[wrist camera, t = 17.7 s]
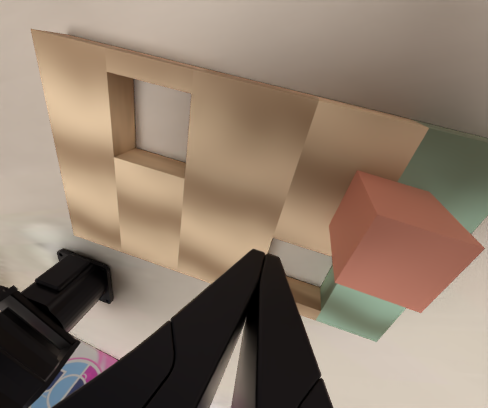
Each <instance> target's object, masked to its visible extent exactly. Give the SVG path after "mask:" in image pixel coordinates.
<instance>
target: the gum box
mask: <svg viewBox="0 0 488 408" xmlns="http://www.w3.org/2000/svg"><path fill="white" fill-rule="evenodd" d="M74 338H75V337H74ZM75 339H77V338H75ZM78 340H79V339H78ZM79 341H80V342H81V343H80V344H79V346H78V347H77V349H76V350H75V351H74V353H73V354H72V356H71V357H70V358H69V360H68V361H67V362H66V364H65V365H64V367H63V368H62V369H61V371H60V372H59V374H58V375H57V376H56V378H55V379H54V381H53V382H52V383H51V384H50V386H49V387H48V388H47V389H46V391H45V392H44V393H43V394H42V395H41V396H40V397H39V398H38V399H37V400H36V401H35V402H34V403H33V404H32V405H31V406H30V407H29V408H51V407H52V406H54V405H55V404H57V403H58V402H60V401H61V400H63V399H64V398H65V397H67V396H68V395H70V394H71V393H73V392H74V391H76V390H77V389H78V388H80V387H81V386H83V385H84V384H86V383H87V382H89V381H90V380H91V379H93V378H94V377H96V376H97V375H99V374H100V373H101V372H103V371H104V370H106V369H107V368H109V367H110V366H111V365H113V364H114V363H115V362H117V361H118V360H117V359H115V358H113V357H111V356H109V355H107V354H105V353H103V352H102V351H100V350H98V349H96V348H94V347H92V346H91V345H89V344H87V343H85V342H83V341H81V340H79Z"/></svg>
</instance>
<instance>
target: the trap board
mask: <svg viewBox="0 0 488 408" xmlns="http://www.w3.org/2000/svg"><path fill="white" fill-rule="evenodd" d="M31 33H32V38H33V43H34V47H35V52H36V57H37V62H38V66H39V71H40V76H41V81H42V85H43V90H44V95H45V100H46V104H47V109H48V114H49V119H50V123H51V128H52V133H53V138H54V142H55V147H56V152H57V157H58V162H59V166H60V171H61V176H62V181H63V185H64V190H65V195H66V200H67V204H68V209H69V214H70V219H71V223H72V228H73V233H74V235H75V236H78V237H80V238H83V239H86V240H89V241H92V242H95V243H97V244H100V245H103V246H106V247H109V248H112V249H114V250H117V251H120V252H123V253H126V254H129V255H131V256H134V257H137V258H140V259H143V260H146V261H148V262H151V263H154V264H157V265H160V266H163V267H166V268H168V269H171V270H174V271H177V272H180V273H183V274H185V275H188V276H191V277H194V278H197V279H200V280H202V281H205V282H208V283H211V284H212V283H213V282H214V281H215V280H216V279H218V278H219V277H220V276H221V275H222V274H223V273H225V272H226V271H227V270H228V269H229V268H230V267H232V266H233V265H234V264H235V263H236V262H237V261H239V260H240V259H241V258H242V257H243V256H244V255H246V254H247V253H248V252H249V251H250V250H252V249H256V250H259V251H262V252H264V253H265V255H266V254H267V253H268V250H269V247H270V244H271V241H272V238H275V239H278V240H282V241H285V242H288V243H291V244H294V245H297V246H300V247H303V248H307V249H310V250H313V251H316V252H319V253H322V254H325V255H328V256H332V252H331V242H330V233H329V224H330V222H331V220H332V218H333V216H334V214H335V213H336V211H337V209H338V207H339V205H340V203H341V201H342V199H343V197H344V195H345V193H346V191H347V189H348V187H349V185H350V183H351V181H352V179H353V177H354V175H355V173H356V171H357V170H358V171H362V172H365V173H368V174H372V175H375V176H378V177H382V178H385V179H388V180H392V181H395V182H398V183H402V184H405V185H408V186H412V187H415V188H418V189H422V190H425V191H428V192H430V193H431V194H432V195H433V196H434V197H435V198H436V199H437V200H438V201H439V202H440V203H441V204H442V205H443V206H444V207H445V208H446V209H447V210H448V211H449V212H450V213H451V214H452V215H453V216H454V217H455V218H456V219H457V220H458V221H459V223H460V224H461V225H462V226H463V227H464V228H465V229H466V230H467V231H468V232H469V233H470V234H472V232H473V231H474V230H475V229H476V228H477V227H478V226H479V224H480V223H481V222H482V221H483V220H484V219H485V218H486V217H487V215H488V138H484V137H480V136H476V135H472V134H468V133H464V132H460V131H456V130H452V129H448V128H444V127H440V126H436V125H431V124H427V123H423V122H419V121H415V120H411V119H407V118H403V117H399V116H395V115H391V114H387V113H383V112H379V111H375V110H371V109H367V108H363V107H359V106H354V105H350V104H346V103H342V102H338V101H334V100H330V99H326V98H322V97H318V96H314V95H310V94H306V93H302V92H298V91H294V90H290V89H286V88H282V87H278V86H273V85H269V84H265V83H261V82H257V81H253V80H249V79H245V78H241V77H237V76H233V75H229V74H225V73H221V72H217V71H213V70H209V69H205V68H201V67H196V66H192V65H188V64H184V63H180V62H176V61H172V60H168V59H164V58H160V57H156V56H152V55H148V54H144V53H140V52H136V51H132V50H128V49H124V48H120V47H115V46H111V45H107V44H103V43H99V42H95V41H91V40H87V39H83V38H79V37H75V36H71V35H67V34H60V33H54V32H47V31H41V30H34V29H31ZM133 79H137V80H141V81H144V82H148V83H152V84H156V85H160V86H164V87H167V88H171V89H175V90H179V91H183V92H187V93H190V94H191V106H190V118H189V131H188V143H187V155H186V163H185V162H181V161H178V160H174V159H171V158H168V157H164V156H161V155H158V154H154V153H151V152H147V151H144V150H141V149H137V148H136V144H135V113H134V83H133ZM286 277H287V276H286ZM287 280H288V283H289V286H290V288H291V291H292V294H293V297H294V300H295V302H296V305H297V308H298V311H299V314H300V315H302V316H305V317H307V318H310V319H313V320H316V321H319V322H322V323H324V324H327V325H330V326H333V327H336V328H339V329H341V330H344V331H347V332H350V333H353V334H356V335H358V336H361V337H364V338H367V339H370V340H373V341H375V342H377V341H378V340H379V339H380V337H381V336H382V335H383V334H384V333H385V332H386V331H387V329H388V328H389V327H390V326H391V325H392V324H393V323H394V321H395V320H396V319H397V318H398V317H399V316H400V315H401V313H402V312H403V311H404V310H405V309H406V308H405V307H402V306H399V305H397V304H394V303H391V302H388V301H385V300H382V299H380V298H377V297H374V296H371V295H368V294H365V293H362V292H360V291H357V290H354V289H351V288H348V287H345V286H342V285H340V284H337V283H335V281H334V271H333V265H332V267H331V269H330V271H329V272H328V274H327V276H326V278H325V280H324V282H323V283H322V285H321V287H317V286H314V285H311V284H308V283H305V282H302V281H299V280H296V279H293V278H290V277H287Z"/></svg>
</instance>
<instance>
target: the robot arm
mask: <svg viewBox="0 0 488 408" xmlns="http://www.w3.org/2000/svg"><path fill="white" fill-rule="evenodd" d="M57 255H58V259H59V262H58V263H57V264H55V265H54V266H53V267H51V268H50V269H49V270H47V271H46V272H45V273H43V274H42V275H40V276H39V277H38V278H36V279H35V282H34V283H33V284H31V285H30V286H29V287H27V288H26V289H25V290H23V291H22V292H21V293H20V292H19V291H18V290H17V288H16V287H15V286H14V285H13V286H12V287H10V288H8V287H4V286H0V310H1V312H0V408H29V407H30V406H31V405H32V404H33V403H34V402H35V401H36V400H37V399H38V398H39V397H40V396H41V395H42V394H43V393H44V392H45V391H46V389H47V388H48V387H49V386H50V384H51V383H52V382H53V381H54V379H55V378H56V376H57V375H58V374H59V372H60V371H61V369H62V368H63V367H64V365H65V364H66V362H67V361H68V360H69V358H70V357H71V356H72V354H73V353H74V351H75V350H76V349H77V347H78V346H79V344H80V343H81V342H80V341H79V340H78V339H75V338H74V337H73V336H71V335H70V334H69V333H68V332H69V331H70V330H71V329H72V328H73V327H74V326H75V325H76V324H77V323H78V322H79V321H80V320H81V319H82V317H83V316H84V315H85V314H86V313H87V312H88V311H89V310H90V309H91V308H92V307H93V306H94V305H95V304H96V303H97V302H98V300H100V301H103V302H105V303H108V304H110V303H111V302H112V301H113V294H112V286H111V278H110V270H109V267H108V266H107V265H105V264H102V263H99V262H96V261H94V260H91V259H88V258H85V257H82V256H80V255H77V254H74V253H71V252H69V251H66V250H63V249H61V250H59V251H58V252H57ZM246 317H247V318H246ZM245 320H246V322H245ZM244 323H245V326H244ZM243 326H244V331H243V336H242V343H241V349H240V355H239V361H238V368H237V374H236V380H235V386H234V393H233V399H232V405H231V408H333V405H332V403H331V400H330V397H329V395H328V392H327V389H326V386H325V383H324V380H323V379H322V378H320V377H321V372H320V370H319V367H318V364H317V361H316V358H315V356H314V353H313V350H312V347H311V344H310V342H309V339H308V336H307V333H306V330H305V328H304V325H303V322H302V319H301V316H300V314H299V311H298V308H297V305H296V302H295V300H294V297H293V294H292V291H291V288H290V286H289V283H288V280H287V277H286V274H285V272H284V269H283V266H282V263H281V260H280V258H279V257H278V256H275V255H272V254H268V253H267V254H266V255H265V253H264V252H262V251H259V250H256V249H252V250H250V251H249V252H248V253H247V254H246V255H244V256H243V257H242V258H241V259H240V260H239V261H237V262H236V263H235V264H234V265H233V266H232V267H230V268H229V269H228V270H227V271H226V272H225V273H223V274H222V275H221V276H220V277H219V278H218V279H216V280H215V281H214V282H213V283H212V284H211V285H209V286H208V287H207V288H206V289H205V290H204V291H202V292H201V293H200V294H199V295H198V296H197V297H195V298H194V299H193V300H192V301H191V302H190V303H188V304H187V305H186V306H185V307H184V308H183V309H181V310H180V311H179V312H178V313H177V314H176V315H174V316H173V317H172V318H171V321H167V322H166V323H165V324H164V325H163V326H161V327H160V328H159V329H158V330H157V331H156V332H154V333H153V334H152V335H151V336H149V337H148V338H147V339H146V340H144V341H143V342H142V343H141V344H139V345H138V346H137V347H136V348H135V349H133V350H132V351H131V352H129V353H128V354H126V355H125V356H124V357H122V358H121V359H120V360H118V361H117V362H115V363H114V364H113V365H111V366H110V367H109V368H107V369H106V370H104V371H103V372H101V373H100V374H99V375H97V376H96V377H94V378H93V379H91V380H90V381H89V382H87V383H86V384H84V385H83V386H81V387H80V388H78V389H77V390H76V391H74V392H73V393H71V394H70V395H68V396H67V397H65V398H64V399H63V400H61V401H60V402H58V403H57V404H55V405H54V406H52V407H51V408H209V407H210V405H211V403H212V400H213V398H214V395H215V393H216V391H217V388H218V386H219V384H220V381H221V379H222V376H223V374H224V372H225V369H226V367H227V365H228V362H229V360H230V358H231V355H232V353H233V350H234V348H235V346H236V343H237V341H238V339H239V336H240V334H241V331H242V329H243Z"/></svg>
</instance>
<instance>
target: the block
mask: <svg viewBox="0 0 488 408" xmlns="http://www.w3.org/2000/svg"><path fill="white" fill-rule="evenodd" d="M329 233H330V242H331V252H332V262H333V271H334V281H335V283H337V284H340V285H342V286H345V287H348V288H351V289H354V290H357V291H360V292H362V293H365V294H368V295H371V296H374V297H377V298H380V299H382V300H385V301H388V302H391V303H394V304H397V305H399V306H402V307H405V308H408V309H411V310H414V311H417V312H419V313H421V312H422V311H423V310H424V309H425V308H426V307H427V306H428V305H429V304H430V303H431V302H432V301H433V300H434V299H435V298H436V297H437V296H438V295H439V294H440V293H441V292H442V291H443V290H444V289H445V288H446V287H447V286H448V285H449V284H450V283H451V282H452V281H453V280H454V279H455V278H456V277H457V276H458V275H459V274H460V273H461V272H462V271H463V270H464V269H465V268H466V267H467V266H468V265H469V264H470V263H471V262H472V261H473V260H474V259H475V258H476V257H477V256H478V255H479V254H480V253H481V252H482V251H483V250H484V249H485V248H484V247H483V246H482V245H481V244H480V243H479V242H478V241H477V240H476V239H475V238H474V237H473V236H472V235H471V234H470V233H469V232H468V231H467V230H466V229H465V228H464V227H463V226H462V225H461V224H460V223H459V221H458V220H457V219H456V218H455V217H454V216H453V215H452V214H451V213H450V212H449V211H448V210H447V209H446V208H445V207H444V206H443V205H442V204H441V203H440V202H439V201H438V200H437V199H436V198H435V197H434V196H433V195H432V194H431V193H430V192H428V191H425V190H422V189H418V188H415V187H412V186H408V185H405V184H402V183H398V182H395V181H392V180H388V179H385V178H382V177H378V176H375V175H372V174H368V173H365V172H362V171H358V170H357V171H356V173H355V175H354V177H353V179H352V181H351V183H350V185H349V187H348V189H347V191H346V193H345V195H344V197H343V199H342V201H341V203H340V205H339V207H338V209H337V211H336V213H335V214H334V216H333V218H332V220H331V222H330V224H329Z"/></svg>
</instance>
